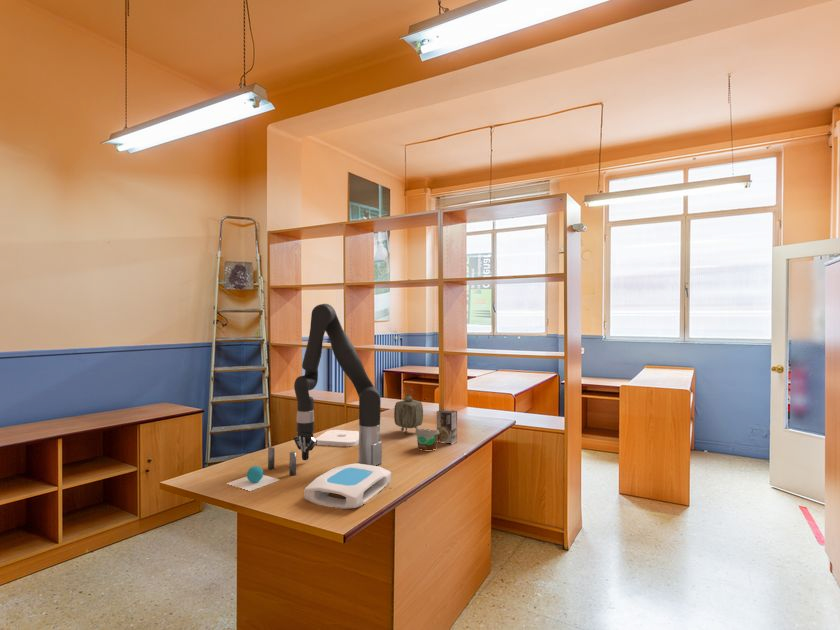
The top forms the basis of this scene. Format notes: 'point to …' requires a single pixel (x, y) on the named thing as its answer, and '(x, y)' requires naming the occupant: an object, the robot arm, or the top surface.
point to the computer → (338, 438)
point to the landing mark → (253, 483)
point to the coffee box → (447, 425)
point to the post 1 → (271, 457)
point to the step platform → (347, 485)
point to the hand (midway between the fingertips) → (305, 459)
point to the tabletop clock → (408, 412)
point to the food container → (427, 438)
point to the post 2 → (292, 464)
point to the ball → (254, 474)
